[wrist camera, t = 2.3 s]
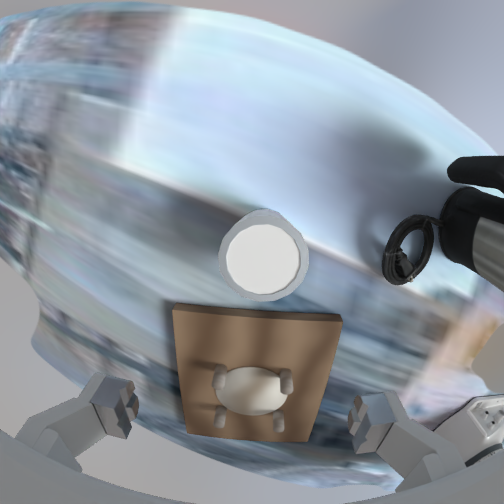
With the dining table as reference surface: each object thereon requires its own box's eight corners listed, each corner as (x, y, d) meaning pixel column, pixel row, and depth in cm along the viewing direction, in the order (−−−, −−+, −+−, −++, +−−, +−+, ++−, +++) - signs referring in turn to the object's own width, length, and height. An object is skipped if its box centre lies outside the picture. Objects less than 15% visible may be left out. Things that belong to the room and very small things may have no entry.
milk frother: (499, 220, 26) (581, 256, 12) (432, 317, 30) (494, 392, 16) (438, 140, 24) (540, 139, 10) (358, 255, 28) (425, 333, 14)
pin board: (339, 314, 30) (350, 337, 26) (306, 434, 37) (309, 456, 32) (176, 302, 31) (163, 324, 26) (189, 425, 37) (183, 447, 33)
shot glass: (225, 266, 29) (214, 296, 22) (232, 198, 27) (221, 210, 20) (293, 274, 29) (300, 307, 22) (304, 207, 27) (316, 222, 20)
